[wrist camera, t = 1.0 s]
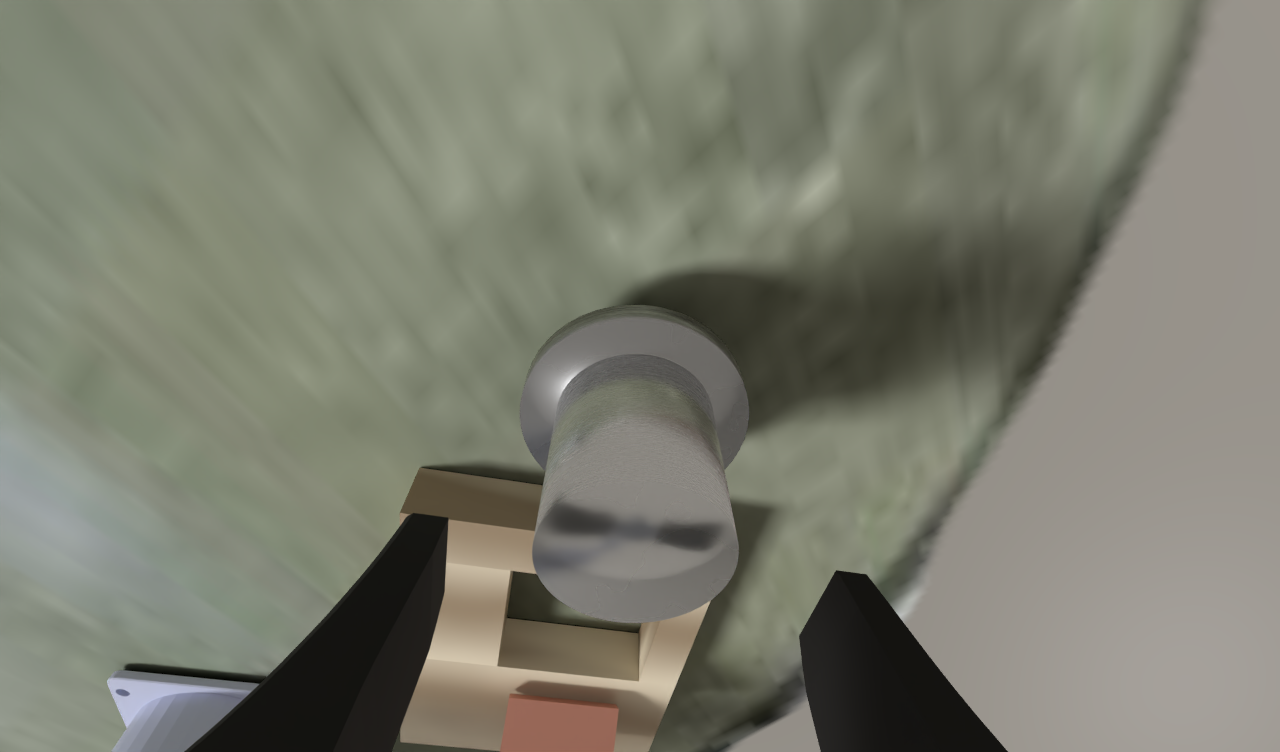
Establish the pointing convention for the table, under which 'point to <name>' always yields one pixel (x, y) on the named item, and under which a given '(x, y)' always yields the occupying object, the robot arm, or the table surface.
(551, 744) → the latch tab
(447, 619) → the hitch block
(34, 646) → the table surface
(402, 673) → the robot arm
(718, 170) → the table surface
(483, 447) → the table surface
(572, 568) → the silver knob
